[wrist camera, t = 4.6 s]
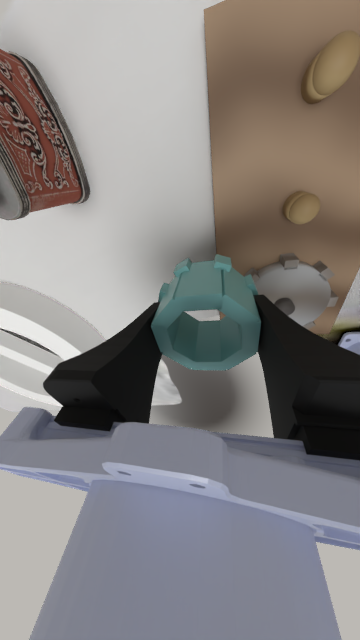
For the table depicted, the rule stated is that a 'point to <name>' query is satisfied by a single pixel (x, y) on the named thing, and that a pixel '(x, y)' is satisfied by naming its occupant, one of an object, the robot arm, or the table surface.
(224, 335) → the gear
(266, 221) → the board
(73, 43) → the table surface
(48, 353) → the ring with crossbar
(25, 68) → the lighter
